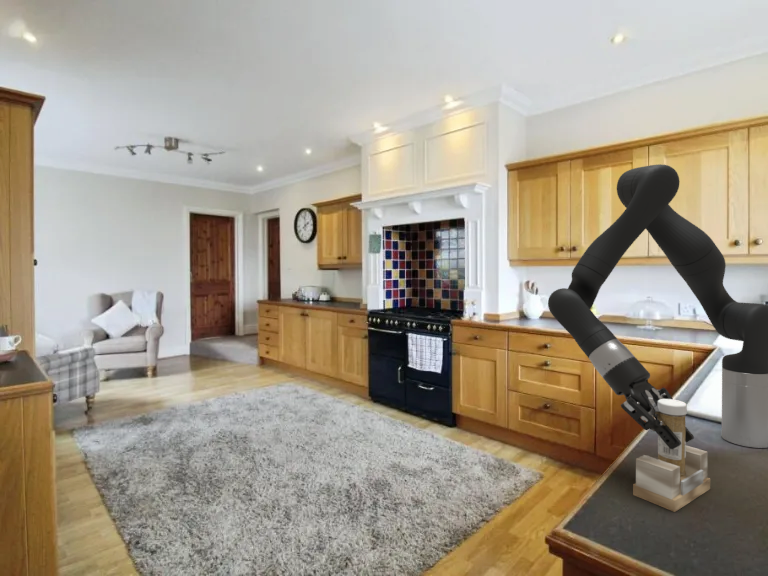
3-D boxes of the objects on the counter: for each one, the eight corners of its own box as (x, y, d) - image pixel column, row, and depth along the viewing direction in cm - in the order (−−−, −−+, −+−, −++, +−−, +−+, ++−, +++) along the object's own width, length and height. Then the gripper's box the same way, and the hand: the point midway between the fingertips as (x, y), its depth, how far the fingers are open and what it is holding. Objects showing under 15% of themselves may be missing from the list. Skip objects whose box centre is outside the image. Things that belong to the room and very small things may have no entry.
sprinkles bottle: (690, 473, 80) (691, 402, 80) (679, 480, 78) (680, 407, 77) (663, 464, 84) (664, 396, 84) (651, 470, 82) (652, 400, 81)
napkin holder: (669, 474, 88) (669, 440, 87) (710, 488, 82) (710, 452, 82) (633, 494, 80) (633, 457, 80) (674, 512, 74) (674, 472, 74)
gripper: (611, 360, 83) (681, 443, 73) (649, 351, 90) (717, 425, 81) (585, 381, 87) (647, 462, 78) (623, 372, 95) (685, 444, 85)
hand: (682, 443), depth 79 cm, fingers closed on sprinkles bottle, 4 cm apart
